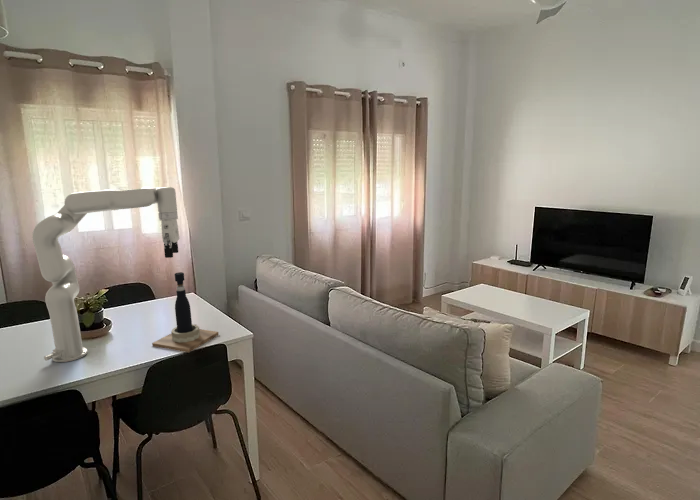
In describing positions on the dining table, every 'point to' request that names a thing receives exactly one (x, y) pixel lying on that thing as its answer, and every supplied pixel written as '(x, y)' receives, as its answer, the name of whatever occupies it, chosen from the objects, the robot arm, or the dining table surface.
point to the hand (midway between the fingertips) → (171, 255)
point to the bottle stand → (185, 339)
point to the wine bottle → (182, 306)
